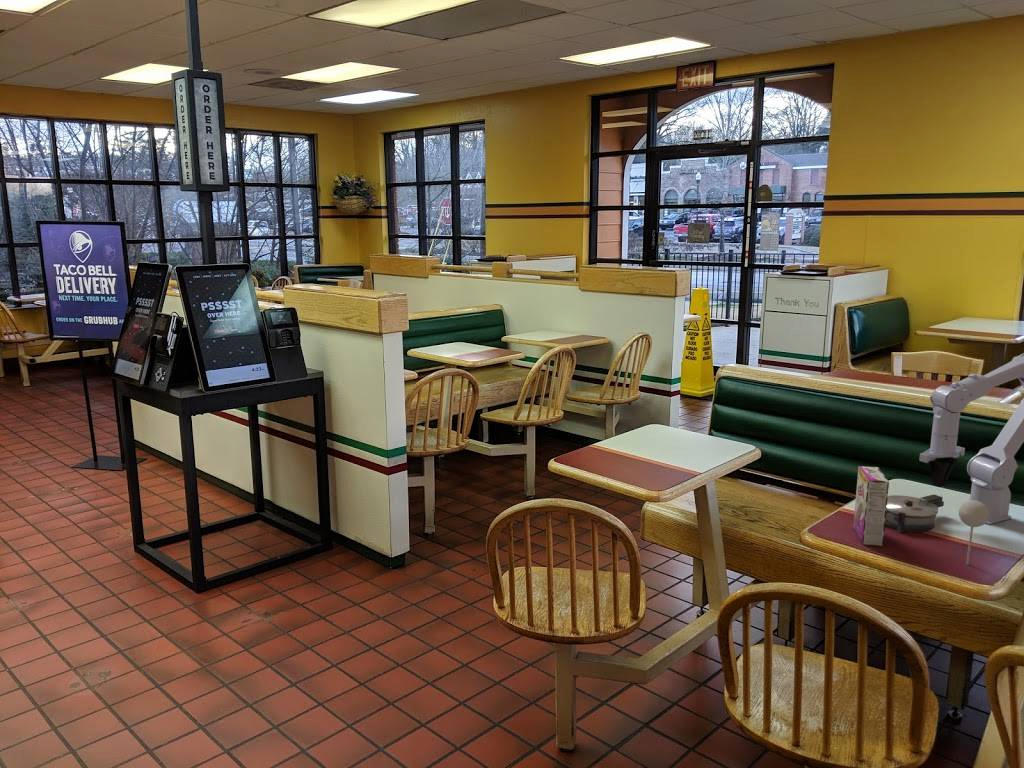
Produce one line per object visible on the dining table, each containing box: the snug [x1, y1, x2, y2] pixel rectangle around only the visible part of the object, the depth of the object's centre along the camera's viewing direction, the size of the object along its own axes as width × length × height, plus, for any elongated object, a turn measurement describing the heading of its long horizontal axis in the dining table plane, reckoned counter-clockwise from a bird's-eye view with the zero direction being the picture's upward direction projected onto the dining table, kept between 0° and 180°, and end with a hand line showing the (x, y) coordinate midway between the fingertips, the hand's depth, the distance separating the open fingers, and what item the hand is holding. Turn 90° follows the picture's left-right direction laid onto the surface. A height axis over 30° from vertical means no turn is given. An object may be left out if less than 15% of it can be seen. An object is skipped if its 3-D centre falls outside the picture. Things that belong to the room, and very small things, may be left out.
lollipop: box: [958, 500, 989, 566], centre depth 179 cm, size 6×6×15 cm
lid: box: [886, 494, 944, 517], centre depth 205 cm, size 19×14×2 cm
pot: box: [885, 500, 945, 534], centre depth 206 cm, size 20×13×5 cm, turn 117°
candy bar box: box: [852, 465, 890, 547], centre depth 194 cm, size 11×5×16 cm, turn 168°
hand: (938, 485), depth 204 cm, fingers closed
